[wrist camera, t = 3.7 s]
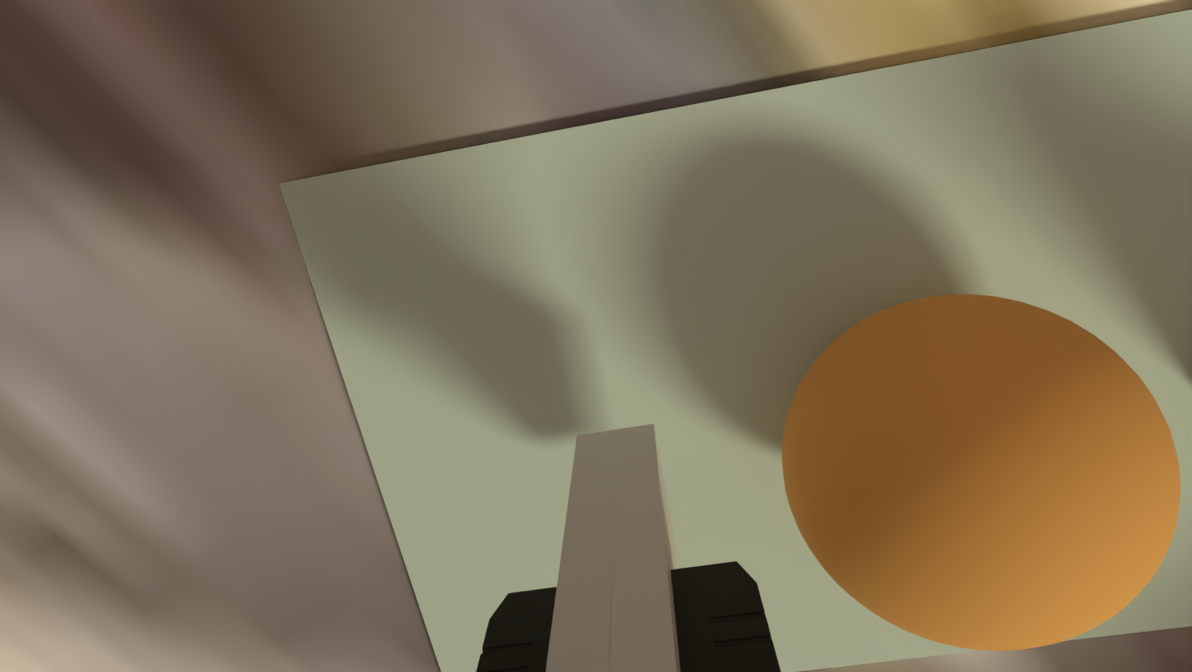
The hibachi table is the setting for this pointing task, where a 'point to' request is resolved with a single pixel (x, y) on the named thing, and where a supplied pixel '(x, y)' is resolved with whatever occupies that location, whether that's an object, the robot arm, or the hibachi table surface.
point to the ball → (981, 472)
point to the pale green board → (742, 302)
